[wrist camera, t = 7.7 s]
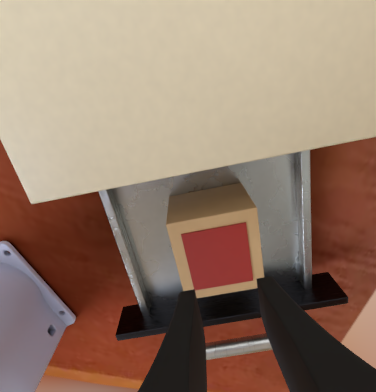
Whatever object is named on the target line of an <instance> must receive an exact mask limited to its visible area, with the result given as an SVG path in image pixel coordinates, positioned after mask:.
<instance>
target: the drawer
mask: <svg viewBox="0 0 376 392" xmlns="http://www.w3.org/2000/svg"><path fill="white" fill-rule="evenodd" d="M237 183H242V185H243V186H244V188H245V190H246V191H247V193H248V194H249V196H250V198H251V199H252V201H253V202H254V204H255V205H256V207H257V212H258V221H259V231H260V240H261V250H262V260H263V269H264V277H269V276H271V277H273V278H274V279H275V280H276V282H277V283H278V284H279V285H280V286H281V287H282V289H283V290H284V291H285V292H286V293H287V294H288V295H289V296H290V297H291V298H292V299H293V300H294V301H295V302H296V303H297V304H298V305H299V306H300V307H301V308H302V309H303V310H310V309H316V308H322V307H328V306H334V305H340V304H346V303H348V297H347V295H346V294H345V293H344V292H343V290H342V289H341V288H340V287H339V285H338V284H337V283H336V282H335V280H334V279H333V278H332V277H331V275H330V274H329V273H328V272H326V273H320V274H314V275H312V246H311V183H310V150H306V151H301V152H296V153H291V154H286V155H281V156H276V157H271V158H266V159H260V160H255V161H250V162H245V163H240V164H235V165H230V166H225V167H220V168H215V169H209V170H204V171H199V172H194V173H189V174H184V175H179V176H174V177H169V178H164V179H158V180H153V181H148V182H143V183H138V184H133V185H128V186H123V187H118V188H113V189H107V190H102V191H98V192H99V195H100V198H101V201H102V203H103V206H104V209H105V212H106V215H107V217H108V220H109V223H110V226H111V229H112V231H113V234H114V237H115V240H116V243H117V245H118V248H119V251H120V254H121V257H122V259H123V262H124V265H125V268H126V271H127V273H128V276H129V279H130V282H131V285H132V287H133V290H134V293H135V296H136V299H137V301H138V305H132V306H126V307H123V310H122V313H121V317H120V321H119V325H118V328H117V332H116V338H117V340H118V341H119V340H125V339H131V338H138V337H144V336H150V335H156V334H162V333H166V332H167V330H168V327H169V324H170V322H171V319H172V316H173V313H174V310H175V307H176V303H177V300H178V295H179V293H180V292H182V291H183V288H182V285H181V281H180V277H179V273H178V269H177V266H176V262H175V258H174V254H173V250H172V247H171V243H170V239H169V235H168V231H167V227H166V219H167V211H168V202H169V197H170V196H174V195H180V194H185V193H190V192H195V191H200V190H206V189H211V188H216V187H221V186H226V185H232V184H237ZM197 301H198V305H199V310H200V314H201V318H202V322H203V327H205V326H211V325H217V324H224V323H230V322H236V321H242V320H248V319H254V318H260V317H261V313H260V304H259V296H258V288H255V289H249V290H243V291H237V292H232V293H226V294H220V295H214V296H208V297H202V298H197ZM205 346H206V360H209V359H216V358H222V357H228V356H235V355H241V354H248V353H254V352H261V351H267V350H273V349H272V347H271V345H270V342H269V340H268V337H267V333H265V334H259V335H253V336H246V337H240V338H234V339H227V340H221V341H215V342H209V343H205Z"/></svg>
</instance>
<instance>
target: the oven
mask: <svg viewBox="0 0 376 392" xmlns="http://www.w3.org/2000/svg"><path fill="white" fill-rule="evenodd" d="M373 137H376V0H0V139H1V142H2V144H3V146H4V148H5V150H6V152H7V154H8V156H9V158H10V160H11V163H12V165H13V167H14V169H15V171H16V173H17V175H18V177H19V179H20V182H21V184H22V186H23V188H24V190H25V192H26V194H27V196H28V198H29V201H30V203H31V204H36V203H41V202H46V201H51V200H56V199H62V198H67V197H72V196H77V195H82V194H87V193H92V192H97V191H102V190H107V189H113V188H118V187H123V186H128V185H133V184H138V183H143V182H148V181H153V180H158V179H164V178H169V177H174V176H179V175H184V174H189V173H194V172H199V171H204V170H209V169H215V168H220V167H225V166H230V165H235V164H240V163H245V162H250V161H255V160H260V159H266V158H271V157H276V156H281V155H286V154H291V153H296V152H301V151H306V150H311V149H317V148H322V147H327V146H332V145H337V144H342V143H347V142H352V141H357V140H362V139H368V138H373Z"/></svg>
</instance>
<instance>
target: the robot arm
mask: <svg viewBox="0 0 376 392" xmlns="http://www.w3.org/2000/svg"><path fill="white" fill-rule="evenodd" d="M7 251H9V252H10V253H9V252H7ZM257 288H258V296H259V304H260V313H261V317H262V320H263V324H264V327H265V330H266V333H267V337H268V340H269V342H270V345H271V347H272V349H273V352H274V354H275V357H276V359H277V362H278V364H279V366H280V369H281V371H282V374H283V376H284V378H285V381H286V383H287V386H288V388H289V390H290V392H376V369H375V368H373V367H372V366H371V365H369V364H368V363H366V362H365V361H364V360H362V359H361V358H360V357H358V356H357V355H355V354H354V353H353V352H352V351H350V350H349V349H348V348H346V347H345V346H344V345H342V344H341V343H340V342H339V341H338V340H336V339H335V338H334V337H333V336H332V335H330V334H329V333H328V332H327V331H326V330H325V329H323V328H322V327H321V326H320V325H319V324H318V323H317V322H316V321H314V320H313V319H312V318H311V317H310V316H309V315H308V314H307V313H306V312H305V311H304V310H303V309H302V308H301V307H300V306H299V305H298V304H297V303H296V302H295V301H294V300H293V299H292V298H291V297H290V296H289V295H288V294H287V293H286V292H285V291H284V290H283V289H282V287H281V286H280V285H279V284H278V283H277V282H276V280H275V279H274V278H273V277H271V276H269V277H263V278H258V279H257ZM63 311H64V312H63ZM75 320H76V316H75V315H74V314H73V313H72V311H71V310H70V309H69V308H68V307H67V306H66V305H65V304H64V303H63V301H62V300H61V299H60V298H59V297H58V296H57V295H56V294H55V293H54V291H53V290H52V289H51V288H50V287H49V286H48V285H47V284H46V283H45V281H44V280H43V279H42V278H41V277H40V276H39V275H38V274H37V273H36V271H35V270H34V269H33V268H32V267H31V266H30V265H29V264H28V262H27V261H26V260H25V259H24V258H23V257H22V256H21V255H20V254H19V252H18V251H17V250H16V249H15V248H14V247H13V246H12V245H11V244H10V243H9V242H7V241H1V242H0V392H35V391H36V389H37V386H38V385H39V382H40V380H41V378H42V376H43V374H44V372H45V370H46V368H47V366H48V364H49V362H50V360H51V358H52V356H53V354H54V351H55V349H56V347H57V345H58V343H59V341H60V339H61V337H62V335H63V333H64V331H65V329H66V327H67V326H68V325H71V324H73V323H74V322H75ZM138 392H207V375H206V346H205V337H204V329H203V322H202V318H201V314H200V310H199V305H198V301H197V297H196V293H195V289H193V290H188V291H182V292H180V293H179V295H178V300H177V303H176V307H175V310H174V313H173V316H172V319H171V322H170V324H169V327H168V330H167V332H166V335H165V337H164V340H163V342H162V344H161V347H160V349H159V351H158V353H157V356H156V358H155V360H154V362H153V364H152V366H151V368H150V370H149V372H148V374H147V376H146V378H145V380H144V382H143V383H142V385H141V387H140V389H139V390H138Z"/></svg>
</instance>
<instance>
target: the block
mask: <svg viewBox="0 0 376 392" xmlns="http://www.w3.org/2000/svg"><path fill="white" fill-rule="evenodd" d="M166 227H167V231H168V235H169V239H170V243H171V247H172V250H173V254H174V258H175V262H176V266H177V269H178V273H179V277H180V281H181V285H182V288H183V291H188V290H193V289H195V293H196V297H197V298H202V297H208V296H214V295H220V294H226V293H232V292H237V291H243V290H249V289H255V288H257V279H258V278H263V277H264V269H263V260H262V250H261V240H260V231H259V221H258V212H257V207H256V205H255V204H254V202H253V201H252V199H251V198H250V196H249V194H248V193H247V191H246V190H245V188H244V186H243V185H242V183H237V184H232V185H226V186H221V187H216V188H211V189H206V190H200V191H195V192H190V193H185V194H180V195H174V196H170V197H169V202H168V211H167V219H166Z"/></svg>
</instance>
